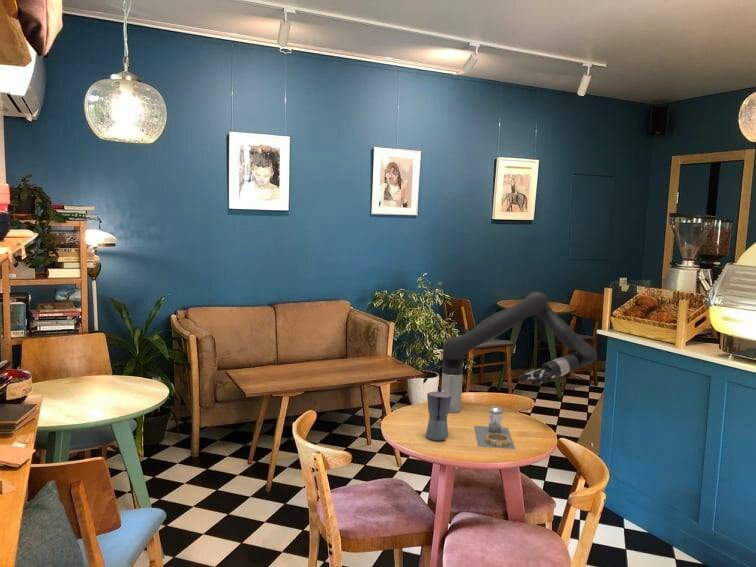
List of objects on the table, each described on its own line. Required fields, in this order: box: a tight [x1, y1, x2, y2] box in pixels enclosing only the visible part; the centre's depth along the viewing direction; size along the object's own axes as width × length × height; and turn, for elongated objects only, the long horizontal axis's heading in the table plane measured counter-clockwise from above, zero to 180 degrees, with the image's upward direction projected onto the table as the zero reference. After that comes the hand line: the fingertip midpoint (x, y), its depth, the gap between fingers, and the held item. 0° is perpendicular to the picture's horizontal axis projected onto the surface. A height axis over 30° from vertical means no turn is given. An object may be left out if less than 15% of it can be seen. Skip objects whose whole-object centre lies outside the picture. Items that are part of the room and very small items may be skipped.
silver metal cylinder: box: [488, 405, 503, 433], centre depth 239 cm, size 5×5×10 cm
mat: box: [473, 425, 516, 450], centre depth 233 cm, size 14×24×1 cm, turn 174°
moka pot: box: [425, 386, 452, 441], centre depth 231 cm, size 10×15×20 cm, turn 179°
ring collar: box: [485, 433, 512, 447], centre depth 227 cm, size 9×9×2 cm
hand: (525, 381), depth 246 cm, fingers open, 8 cm apart
